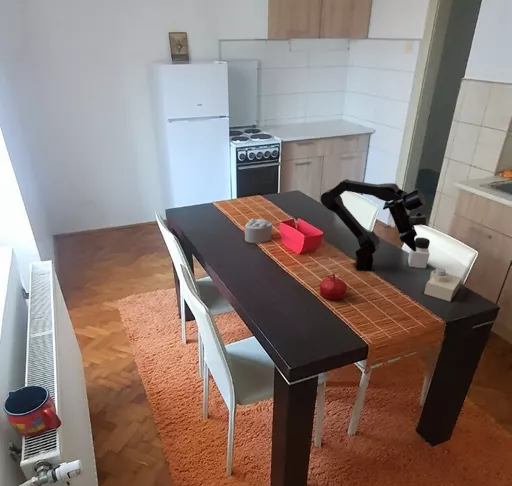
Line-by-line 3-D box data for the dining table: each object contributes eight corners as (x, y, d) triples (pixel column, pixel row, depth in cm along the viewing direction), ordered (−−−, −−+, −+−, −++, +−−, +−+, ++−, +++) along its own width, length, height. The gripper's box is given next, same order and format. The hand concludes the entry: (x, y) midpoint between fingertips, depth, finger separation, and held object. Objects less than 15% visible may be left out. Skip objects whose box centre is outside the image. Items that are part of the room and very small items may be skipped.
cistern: (422, 293, 183) (426, 277, 179) (432, 281, 192) (436, 265, 189) (450, 301, 178) (454, 285, 174) (458, 289, 187) (463, 273, 184)
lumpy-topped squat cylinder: (274, 238, 224) (275, 221, 219) (254, 245, 216) (255, 227, 212) (259, 232, 230) (259, 215, 226) (239, 238, 222) (239, 221, 218)
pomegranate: (338, 305, 172) (342, 282, 167) (314, 297, 177) (317, 275, 172) (349, 294, 180) (352, 272, 175) (325, 287, 184) (328, 265, 179)
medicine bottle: (425, 268, 202) (432, 243, 196) (408, 266, 203) (415, 241, 197) (424, 262, 208) (430, 236, 202) (407, 260, 209) (413, 234, 203)
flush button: (433, 274, 182) (435, 270, 181) (436, 271, 185) (437, 267, 184) (443, 277, 181) (444, 272, 179) (445, 274, 183) (446, 269, 182)
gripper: (422, 209, 171) (438, 247, 174) (418, 203, 188) (433, 238, 191) (392, 222, 175) (409, 259, 178) (391, 215, 192) (406, 249, 195)
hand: (415, 251), depth 186 cm, fingers closed
